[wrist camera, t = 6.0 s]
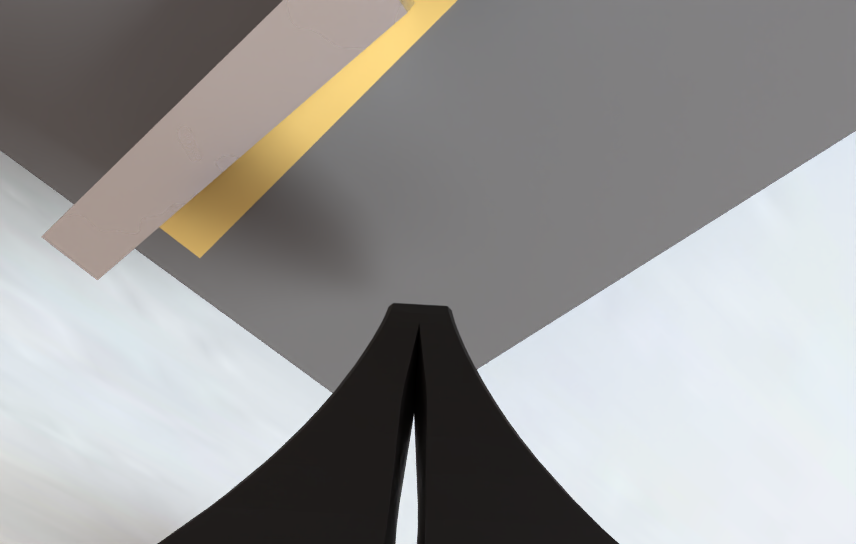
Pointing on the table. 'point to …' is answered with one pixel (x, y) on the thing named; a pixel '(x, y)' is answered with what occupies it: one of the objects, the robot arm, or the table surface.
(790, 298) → the table surface
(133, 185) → the hinge leaf
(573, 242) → the mat
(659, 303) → the table surface
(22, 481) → the table surface
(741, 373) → the table surface
